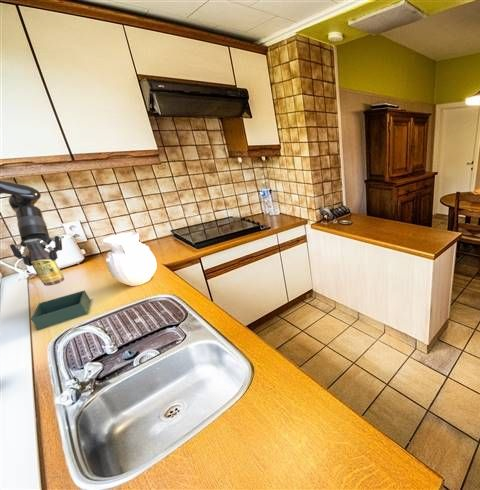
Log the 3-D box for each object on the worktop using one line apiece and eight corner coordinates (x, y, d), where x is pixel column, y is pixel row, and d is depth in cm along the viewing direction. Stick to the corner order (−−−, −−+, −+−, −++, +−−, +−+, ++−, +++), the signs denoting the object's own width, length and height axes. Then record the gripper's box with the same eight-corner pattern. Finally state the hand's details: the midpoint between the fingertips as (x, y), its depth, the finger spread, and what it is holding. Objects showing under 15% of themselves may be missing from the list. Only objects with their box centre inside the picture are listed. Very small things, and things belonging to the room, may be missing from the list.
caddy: (38, 329, 105) (30, 319, 103) (45, 313, 115) (38, 303, 113) (87, 313, 113) (81, 303, 111) (90, 300, 123) (84, 290, 121)
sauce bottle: (41, 288, 110) (12, 245, 102) (49, 281, 115) (22, 239, 107) (62, 283, 113) (35, 241, 105) (69, 277, 118) (44, 236, 110)
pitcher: (165, 279, 138) (147, 235, 128) (120, 295, 126) (95, 247, 116) (157, 268, 150) (140, 227, 140) (115, 282, 138) (93, 238, 128)
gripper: (0, 228, 105) (9, 264, 102) (53, 220, 113) (62, 253, 110) (12, 237, 111) (21, 272, 107) (61, 228, 119) (70, 260, 116)
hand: (42, 262), depth 109 cm, fingers closed on sauce bottle, 6 cm apart
